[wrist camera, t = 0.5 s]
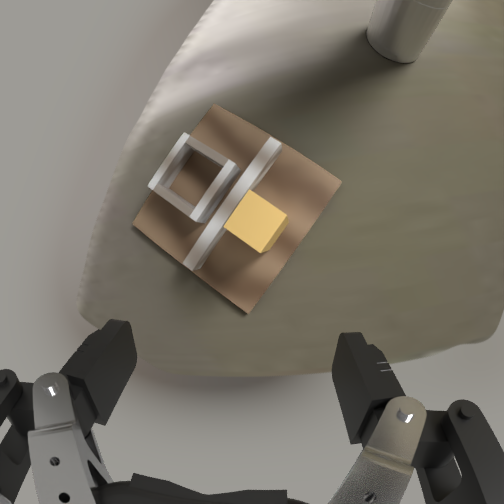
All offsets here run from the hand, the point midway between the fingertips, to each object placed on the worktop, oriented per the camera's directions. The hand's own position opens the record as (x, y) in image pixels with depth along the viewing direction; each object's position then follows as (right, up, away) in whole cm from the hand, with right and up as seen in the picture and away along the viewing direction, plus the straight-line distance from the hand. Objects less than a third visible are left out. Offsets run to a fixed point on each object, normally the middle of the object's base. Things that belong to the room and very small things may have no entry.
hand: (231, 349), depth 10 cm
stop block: (+2, +7, +24) cm, 25 cm away
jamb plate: (-2, +10, +26) cm, 28 cm away
